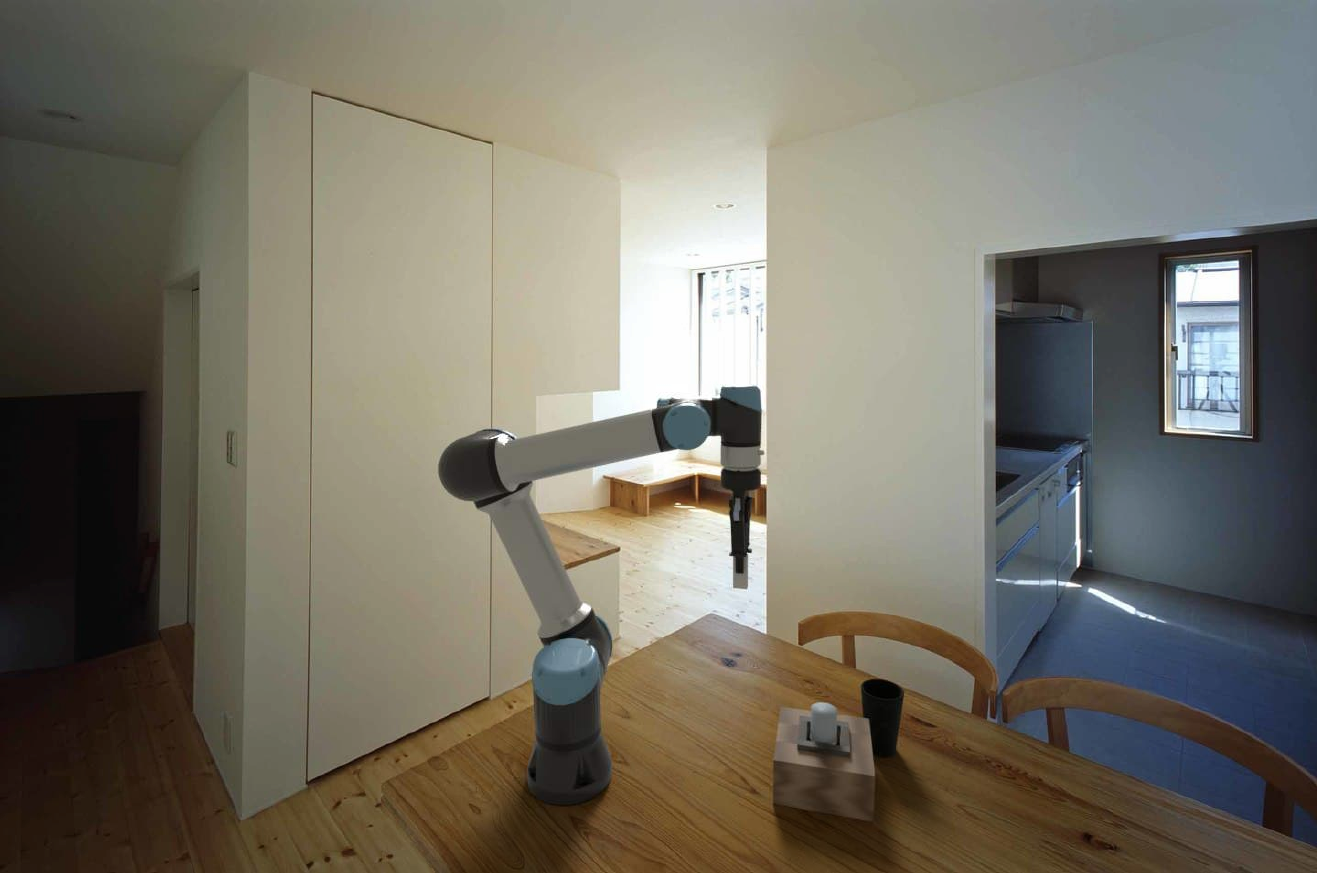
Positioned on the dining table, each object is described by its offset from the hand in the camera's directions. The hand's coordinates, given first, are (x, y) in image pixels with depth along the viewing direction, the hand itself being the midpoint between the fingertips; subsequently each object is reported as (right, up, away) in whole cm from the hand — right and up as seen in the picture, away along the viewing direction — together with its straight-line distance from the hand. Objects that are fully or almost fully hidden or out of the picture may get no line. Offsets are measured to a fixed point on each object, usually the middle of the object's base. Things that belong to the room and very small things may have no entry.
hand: (740, 587), depth 118 cm
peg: (+13, -30, -10) cm, 35 cm away
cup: (+27, -31, -1) cm, 41 cm away
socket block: (+13, -32, -10) cm, 36 cm away
